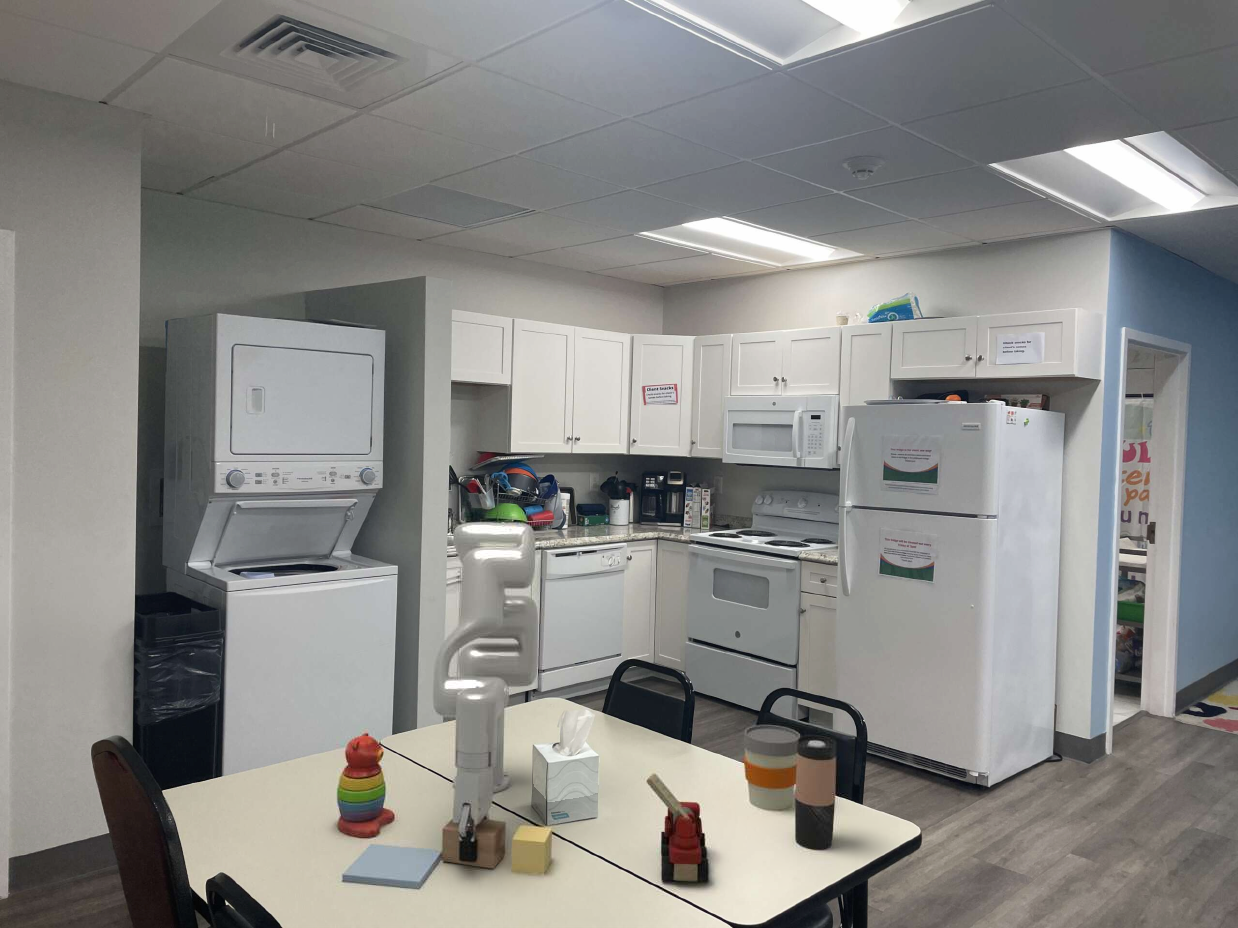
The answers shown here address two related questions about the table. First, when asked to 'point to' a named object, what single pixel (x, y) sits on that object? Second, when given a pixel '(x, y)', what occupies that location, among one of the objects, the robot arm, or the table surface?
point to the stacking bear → (362, 789)
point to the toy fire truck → (681, 838)
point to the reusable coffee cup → (770, 765)
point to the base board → (393, 866)
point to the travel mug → (815, 791)
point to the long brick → (487, 838)
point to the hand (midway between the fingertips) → (473, 850)
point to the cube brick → (531, 849)
